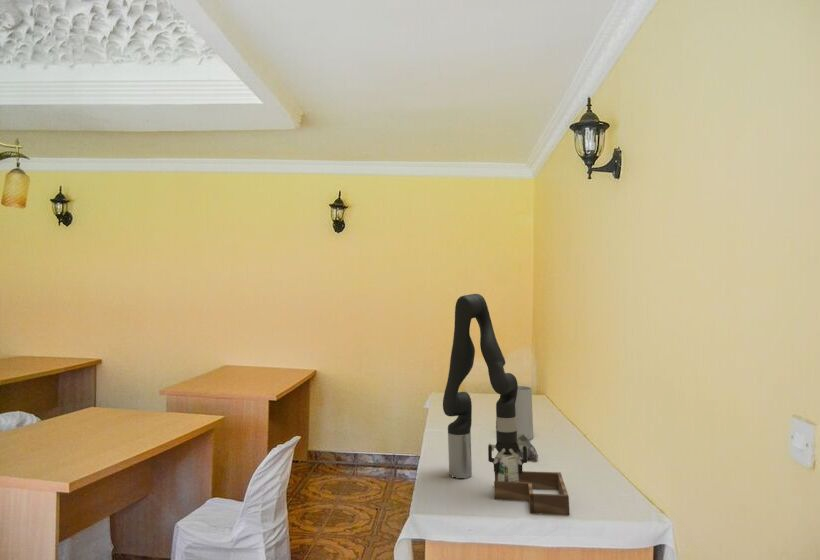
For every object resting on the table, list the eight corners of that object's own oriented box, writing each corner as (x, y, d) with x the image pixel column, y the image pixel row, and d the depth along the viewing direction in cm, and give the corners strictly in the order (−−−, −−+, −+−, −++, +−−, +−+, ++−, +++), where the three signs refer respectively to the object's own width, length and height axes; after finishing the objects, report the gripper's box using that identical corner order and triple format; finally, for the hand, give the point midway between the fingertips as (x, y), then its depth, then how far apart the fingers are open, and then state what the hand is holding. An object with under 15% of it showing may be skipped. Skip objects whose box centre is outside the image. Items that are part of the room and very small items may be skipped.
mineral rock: (538, 462, 215) (537, 439, 215) (513, 462, 217) (512, 438, 217) (536, 453, 228) (535, 431, 228) (512, 452, 229) (511, 430, 230)
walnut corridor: (495, 486, 189) (494, 470, 189) (561, 488, 185) (560, 472, 185) (494, 511, 167) (493, 493, 167) (569, 514, 163) (568, 496, 163)
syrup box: (497, 492, 184) (496, 452, 184) (510, 489, 186) (509, 450, 186) (506, 497, 178) (505, 456, 179) (520, 494, 181) (518, 454, 181)
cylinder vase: (523, 442, 244) (521, 391, 245) (503, 438, 253) (501, 388, 254) (538, 437, 252) (536, 387, 253) (518, 433, 262) (516, 385, 262)
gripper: (525, 426, 185) (527, 470, 185) (487, 425, 188) (488, 469, 187) (526, 431, 178) (528, 478, 177) (486, 430, 181) (488, 476, 180)
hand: (508, 473), depth 182 cm, fingers closed on syrup box, 7 cm apart
